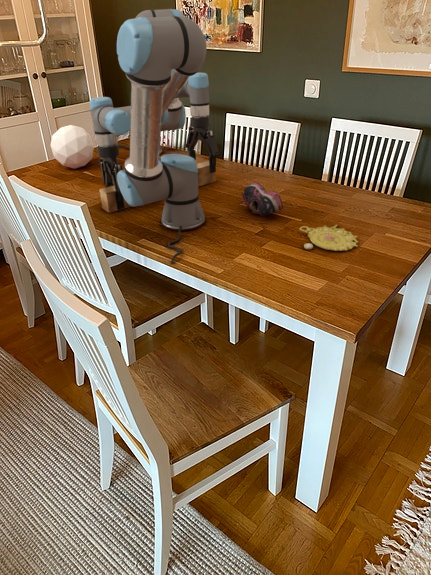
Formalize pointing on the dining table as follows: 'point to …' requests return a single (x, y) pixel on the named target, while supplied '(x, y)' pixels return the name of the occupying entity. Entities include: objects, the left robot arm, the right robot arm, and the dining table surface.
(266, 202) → the athletic shoe
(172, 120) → the left robot arm
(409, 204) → the dining table surface
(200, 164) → the bar
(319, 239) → the decorative object
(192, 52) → the right robot arm
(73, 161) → the sphere
